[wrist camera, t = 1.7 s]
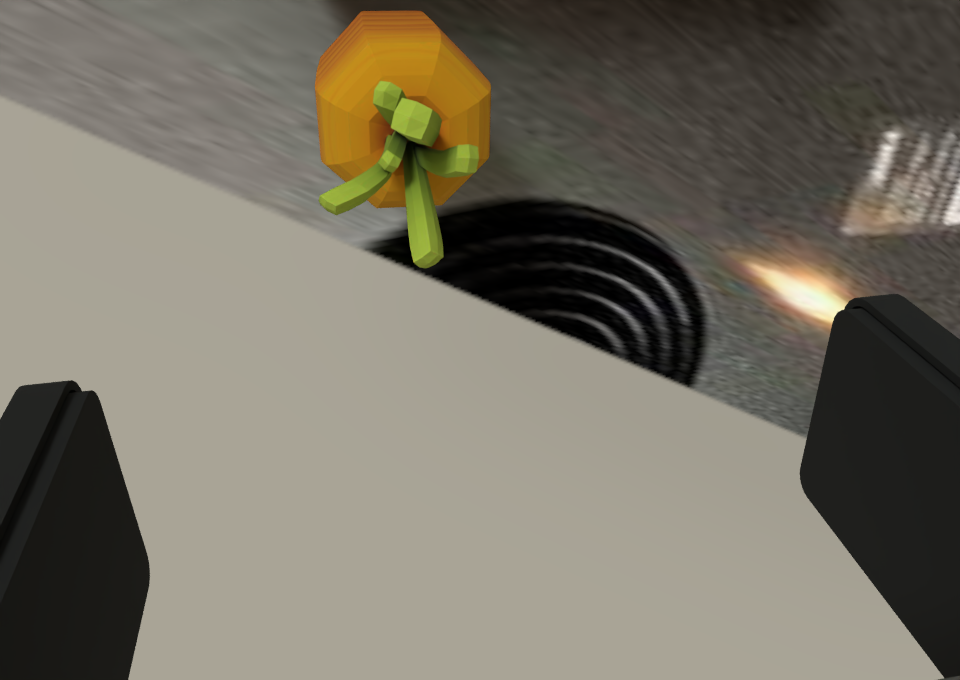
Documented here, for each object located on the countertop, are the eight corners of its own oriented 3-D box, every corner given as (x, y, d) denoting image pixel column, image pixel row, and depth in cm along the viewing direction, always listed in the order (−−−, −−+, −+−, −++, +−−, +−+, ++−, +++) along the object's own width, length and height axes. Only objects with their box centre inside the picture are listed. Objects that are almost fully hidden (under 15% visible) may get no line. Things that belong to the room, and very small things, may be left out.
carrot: (419, 130, 33) (483, 314, 20) (295, 83, 31) (278, 251, 18) (468, 5, 31) (575, 120, 18) (338, -52, 29) (353, 30, 16)
